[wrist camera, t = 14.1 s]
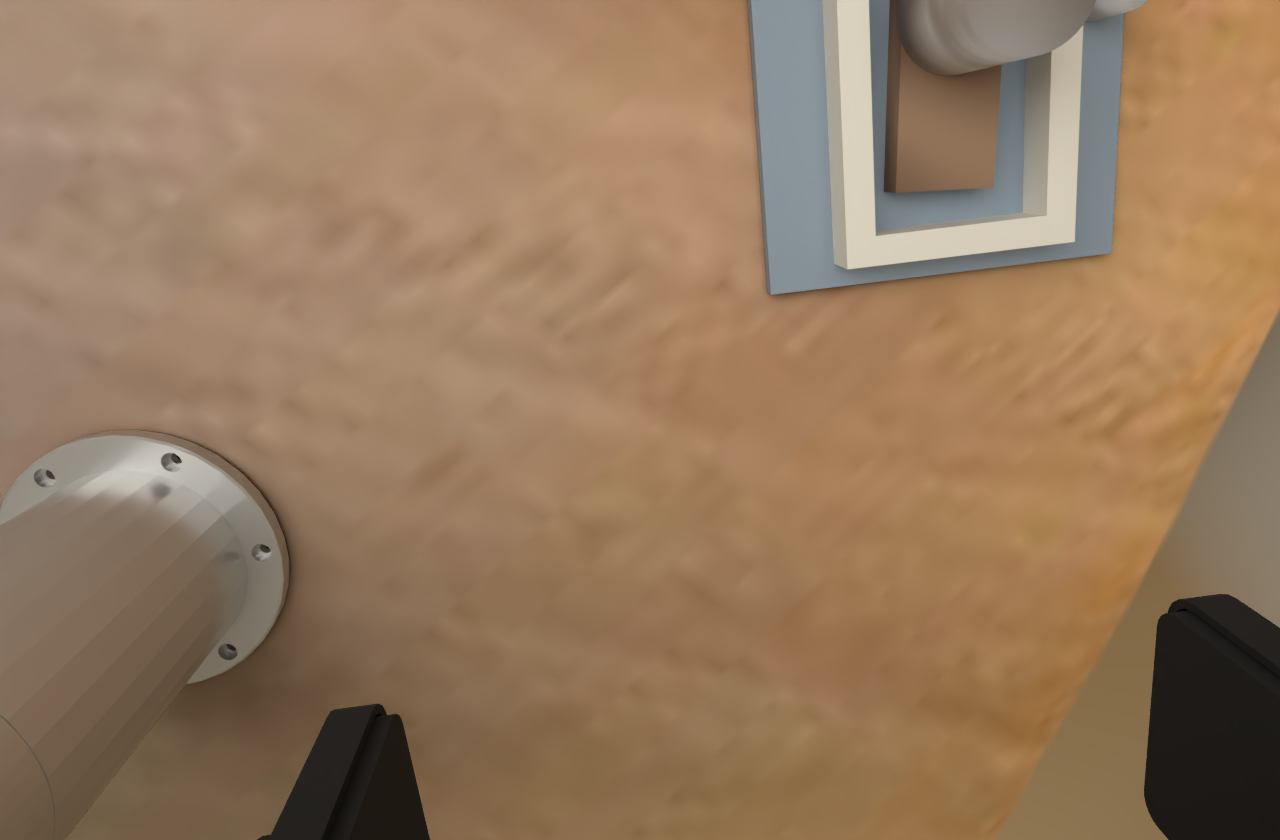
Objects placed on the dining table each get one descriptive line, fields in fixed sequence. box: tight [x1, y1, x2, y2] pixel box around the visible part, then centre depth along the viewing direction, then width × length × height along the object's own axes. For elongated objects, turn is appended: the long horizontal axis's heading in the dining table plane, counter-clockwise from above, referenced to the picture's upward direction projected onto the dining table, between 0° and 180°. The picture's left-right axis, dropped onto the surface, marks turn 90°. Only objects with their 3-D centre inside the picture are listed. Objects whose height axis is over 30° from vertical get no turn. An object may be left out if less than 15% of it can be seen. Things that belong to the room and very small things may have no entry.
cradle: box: [747, 0, 1147, 295], centre depth 33 cm, size 15×20×3 cm
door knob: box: [884, 0, 1096, 193], centre depth 30 cm, size 13×4×8 cm, turn 3°
